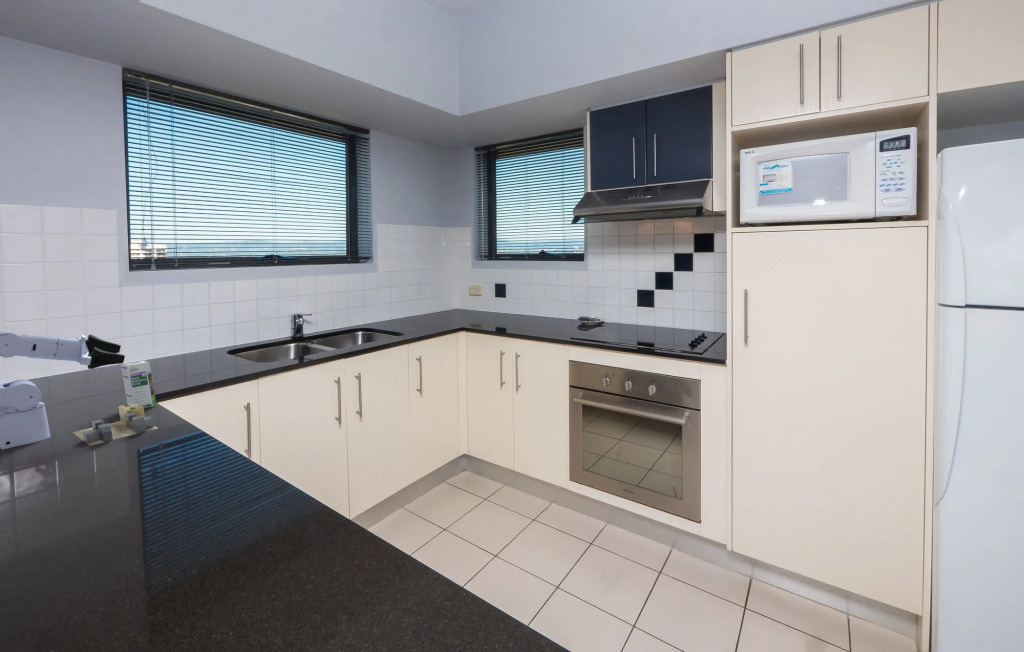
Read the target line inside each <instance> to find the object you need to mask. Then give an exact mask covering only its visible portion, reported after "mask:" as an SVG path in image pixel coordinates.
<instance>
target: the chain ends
mask: <svg viewBox="0 0 1024 652" xmlns="http://www.w3.org/2000/svg"><path fill="white" fill-rule="evenodd" d="M125 419H126V425H127V428H129V429H131V430H133V431H134V432H136V433H138V434H141V432H142V433H145V431H146V428H150V427H154V426H155V422H154V421H155V420H154V417H151V416H149V415H148V416H145V417H142V416H137V414H136V413H134V412H132V413H127V414H125ZM109 424H110V423H105V421H104V420H103V419H97V420H92V421H91V425H92V426H91V427H92V428H93V429H92V430H88V431H83V432H82V435H83V440H84V441H85V442H86V443H85V442H84V441H83V440H82V441H83V442H84V443H85V444H87V443H90V442H94V441H98V440H102V441H103V442H102V443H107V442H109V440H110V441H114V440H113V436H112V430H111V425H109ZM146 432H147V431H146Z"/></svg>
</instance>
